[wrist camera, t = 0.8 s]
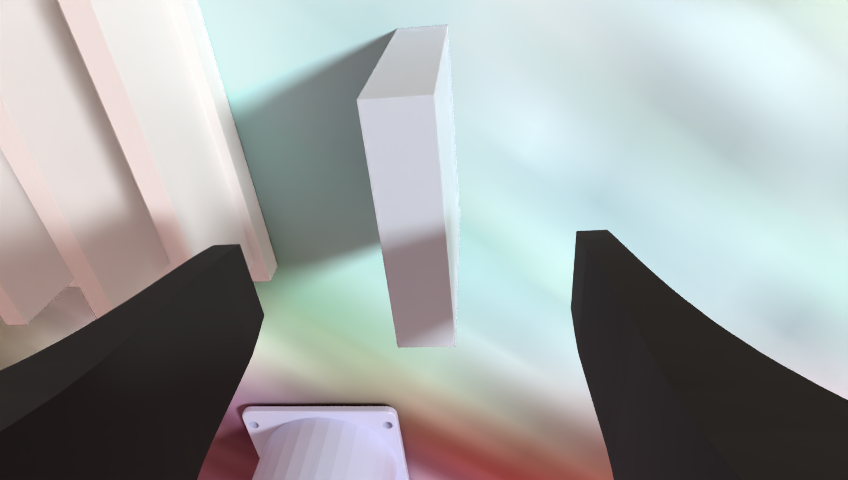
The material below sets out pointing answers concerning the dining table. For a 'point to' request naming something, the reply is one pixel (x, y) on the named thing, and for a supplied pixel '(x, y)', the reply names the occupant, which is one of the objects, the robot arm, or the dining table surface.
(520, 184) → the dining table surface
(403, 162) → the plate tile
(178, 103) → the dish rack
